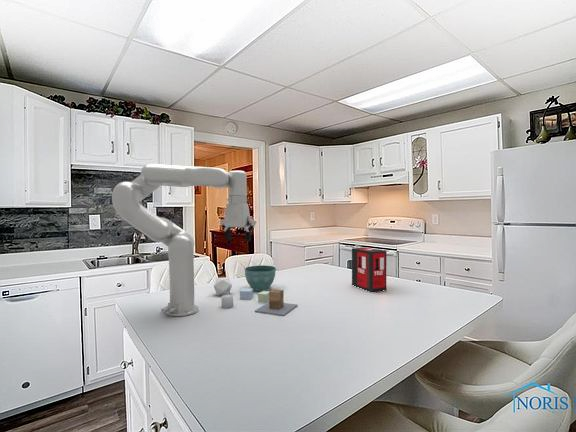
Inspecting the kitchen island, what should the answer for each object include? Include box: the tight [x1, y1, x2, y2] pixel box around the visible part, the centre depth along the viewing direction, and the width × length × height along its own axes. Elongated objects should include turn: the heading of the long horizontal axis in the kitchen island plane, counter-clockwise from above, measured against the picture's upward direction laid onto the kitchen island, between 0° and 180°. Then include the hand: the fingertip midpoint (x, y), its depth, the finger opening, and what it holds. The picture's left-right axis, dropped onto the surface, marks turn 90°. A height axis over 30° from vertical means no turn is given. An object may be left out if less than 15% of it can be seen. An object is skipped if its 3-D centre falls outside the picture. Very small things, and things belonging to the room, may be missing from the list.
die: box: [213, 276, 232, 297], centre depth 158 cm, size 8×9×10 cm
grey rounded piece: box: [220, 294, 234, 309], centre depth 139 cm, size 5×5×4 cm
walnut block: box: [268, 288, 285, 310], centre depth 135 cm, size 4×4×7 cm
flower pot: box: [244, 264, 277, 292], centre depth 168 cm, size 16×16×11 cm
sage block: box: [257, 290, 270, 304], centre depth 147 cm, size 5×4×4 cm
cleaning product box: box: [351, 246, 387, 293], centre depth 168 cm, size 16×9×20 cm, turn 25°
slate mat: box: [254, 302, 298, 317], centre depth 135 cm, size 14×13×1 cm
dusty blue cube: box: [239, 287, 254, 301], centre depth 152 cm, size 5×5×4 cm
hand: (237, 240), depth 137 cm, fingers open, 9 cm apart
